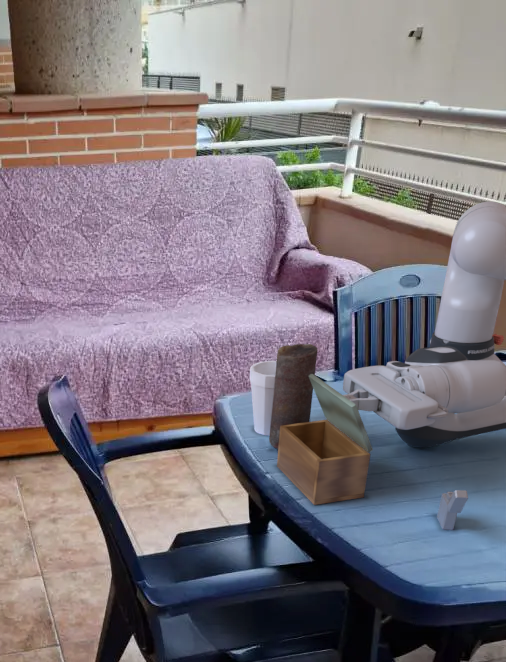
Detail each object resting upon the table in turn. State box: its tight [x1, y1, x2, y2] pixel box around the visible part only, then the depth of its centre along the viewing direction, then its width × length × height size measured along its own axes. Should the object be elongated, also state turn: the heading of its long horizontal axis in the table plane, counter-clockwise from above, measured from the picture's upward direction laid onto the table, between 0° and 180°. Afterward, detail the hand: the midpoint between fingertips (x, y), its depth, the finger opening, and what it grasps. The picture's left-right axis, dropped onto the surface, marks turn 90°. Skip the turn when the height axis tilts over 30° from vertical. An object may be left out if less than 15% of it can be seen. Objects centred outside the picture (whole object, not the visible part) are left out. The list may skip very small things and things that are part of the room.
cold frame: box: [276, 419, 371, 506], centre depth 131 cm, size 9×16×8 cm, turn 12°
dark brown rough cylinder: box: [268, 343, 319, 450], centre depth 141 cm, size 8×7×20 cm
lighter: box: [436, 489, 469, 531], centre depth 116 cm, size 7×2×8 cm, turn 171°
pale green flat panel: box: [309, 374, 374, 453], centre depth 127 cm, size 10×16×1 cm
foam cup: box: [249, 360, 277, 437], centre depth 150 cm, size 10×9×13 cm
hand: (344, 402), depth 126 cm, fingers closed
